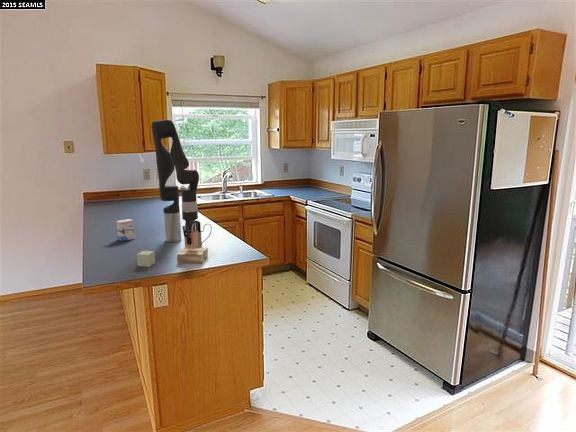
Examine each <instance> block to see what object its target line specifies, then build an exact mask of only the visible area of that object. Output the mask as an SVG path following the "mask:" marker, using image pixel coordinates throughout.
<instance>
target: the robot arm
mask: <svg viewBox="0 0 576 432" xmlns="http://www.w3.org/2000/svg"><path fill="white" fill-rule="evenodd" d="M150 126H151V133H152V138H153V139H152V140H153V143H154V150H155V161H156V168H157V169H156V170H157V174H158V175H157V176H158V187H159V188H158V190H159V199H160V200H161V201H162V202H173V203H171V204H169V205H167V206H165V207H163V209H162V210H163V220H164V221H163V222H164V224H163V225H164V237H165V238H164V240H165V242H168V243H175V242H176V243H177V242H180V241H181V240H182V232H183V238H184V237H186V238H187V245H191V233H192V232H193V230H198V221H199V220H198V219H199V211H198V201H197V189H198V185H199V182H200V174H199V172H198V170H196V169H193V168H192V169H188V168H189V166H190V163H189V162H190V161H189V160H188V158H187V155H186V154H185V152H184V149H183V147H182V144H181V140H180V137H179V134H178V131H177V128H176V126H175V124H174V122H173V120H172V119H169V118H165V119H159V120H155V121H152V122H151V125H150ZM168 138H171V140H172V142H171V147H170V151H169V150H168V149H167V148H166V147H165V146H164V144H163V142H162V140H163V139H168ZM173 172H175V173H176V174H175V175H176V176H175V177H176V180H177V182H178V183H179V184H180V185H188V187H187V188H186V187H185V188H184V189H182V190H181V211H180V188H179V186H178V185H176V184H168V185H167V182H168V180H169V178H170V177H171V176H172V174H173ZM181 216H182V220H183V221H185V223H184V224H185V225H183V226H182V225H181V224H182V223H181ZM189 230H191V231H189ZM189 233H190V234H189Z"/></svg>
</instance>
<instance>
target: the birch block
mask: <svg viewBox="0 0 576 432" xmlns="http://www.w3.org/2000/svg"><path fill="white" fill-rule="evenodd" d="M208 250H209V248H208V247H202V248H185V247H183V248H182V249H181V250H180V251H179V252H178V253H177V254H176V260H177V264H179V265H180V264H186V265H187V264H188V265H189V264H190V265H196V264H197V265H202V264H203V263H204V262H205V261H206V259H207V258H208V256H209V255H208V253H209V252H208Z"/></svg>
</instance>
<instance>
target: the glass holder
mask: <svg viewBox="0 0 576 432" xmlns="http://www.w3.org/2000/svg"><path fill="white" fill-rule="evenodd" d="M197 221H198V246H197V247H195V248H203V244H204V242H205V241H207V240H208V238H209V237H210V236H211V234H212V225H211V224H210V223H204V225H203V230H201V229H202V227H201V221H199V220H197ZM207 225H209V226H210V233H209V235H207V237H206V238H205V239H204V240H203V241H202V233H203V232H204V231H205V226H207Z"/></svg>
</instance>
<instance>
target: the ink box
mask: <svg viewBox="0 0 576 432" xmlns="http://www.w3.org/2000/svg"><path fill="white" fill-rule="evenodd" d="M134 224H135V223H134V219H131V218H129V219H127V218H126V219H120V220H116V232H117V234H116V235H117V240H118V241H120V242H125V241H129V240H130V241H131V240H134V239H136V236H135V227H134V226H135V225H134Z"/></svg>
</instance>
